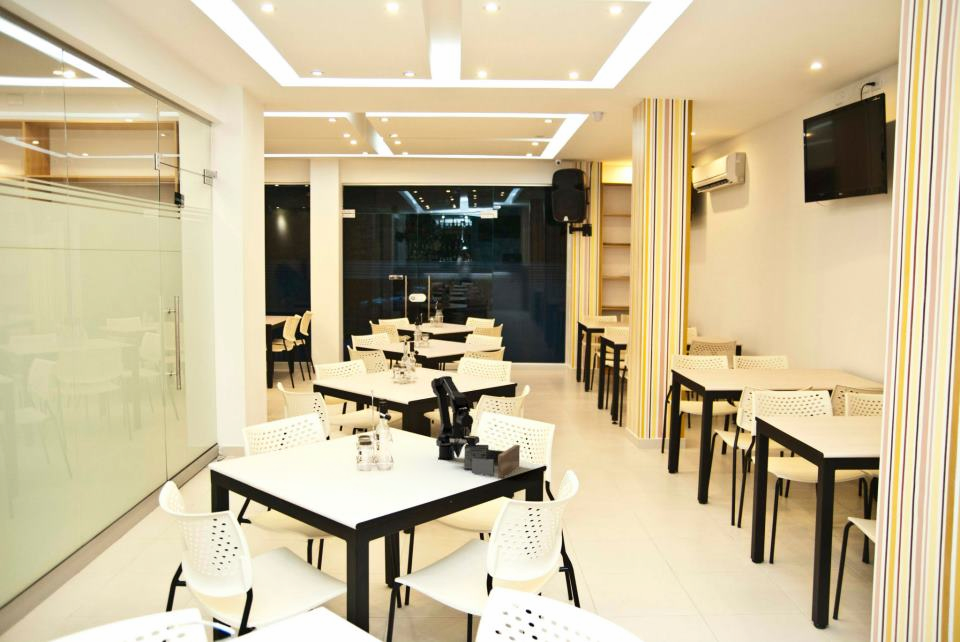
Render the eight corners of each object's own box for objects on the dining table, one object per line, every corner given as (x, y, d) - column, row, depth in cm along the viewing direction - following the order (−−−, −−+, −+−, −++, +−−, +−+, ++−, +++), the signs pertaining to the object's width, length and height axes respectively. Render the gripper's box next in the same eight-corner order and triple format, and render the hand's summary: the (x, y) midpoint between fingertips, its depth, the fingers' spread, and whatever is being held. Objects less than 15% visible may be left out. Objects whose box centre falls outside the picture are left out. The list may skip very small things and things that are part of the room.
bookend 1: (471, 473, 305) (472, 458, 305) (472, 473, 307) (473, 457, 306) (493, 476, 302) (493, 460, 301) (494, 475, 303) (494, 459, 302)
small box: (488, 467, 317) (489, 444, 317) (487, 470, 311) (487, 447, 310) (465, 466, 318) (466, 443, 318) (463, 469, 312) (464, 446, 311)
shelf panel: (497, 478, 299) (498, 455, 298) (515, 466, 319) (515, 444, 319) (502, 478, 298) (502, 455, 297) (519, 466, 318) (519, 445, 318)
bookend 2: (486, 464, 321) (486, 449, 321) (487, 464, 322) (487, 449, 322) (506, 467, 317) (506, 452, 317) (507, 466, 318) (507, 451, 318)
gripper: (484, 422, 321) (483, 455, 321) (448, 418, 328) (447, 451, 329) (474, 426, 310) (474, 461, 311) (437, 422, 318) (436, 456, 319)
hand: (458, 457), depth 318 cm, fingers closed
